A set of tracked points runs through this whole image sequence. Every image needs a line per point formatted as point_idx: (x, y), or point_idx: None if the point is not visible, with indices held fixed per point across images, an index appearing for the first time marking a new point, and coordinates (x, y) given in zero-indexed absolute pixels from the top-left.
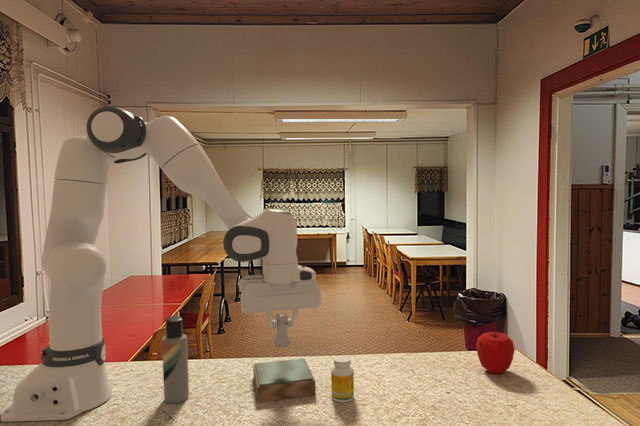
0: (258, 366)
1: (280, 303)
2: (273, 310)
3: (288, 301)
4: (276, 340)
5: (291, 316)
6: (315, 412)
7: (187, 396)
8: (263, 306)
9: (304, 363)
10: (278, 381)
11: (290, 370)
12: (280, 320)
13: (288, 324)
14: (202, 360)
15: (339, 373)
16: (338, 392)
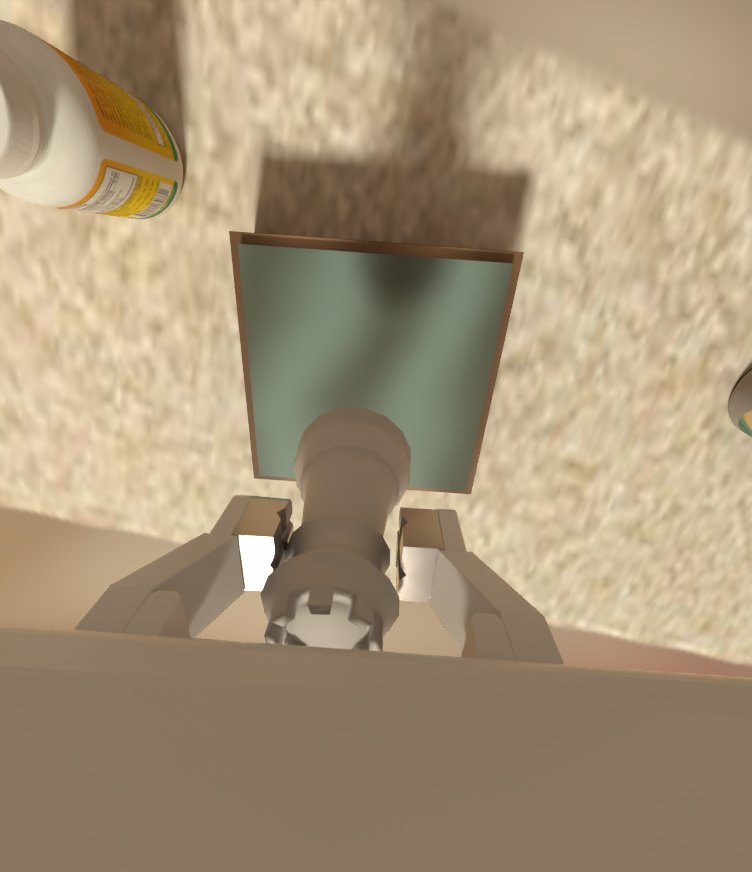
0: (460, 458)
1: (324, 802)
2: (466, 660)
3: (105, 837)
4: (399, 449)
5: (220, 592)
6: (277, 41)
7: (750, 378)
8: (707, 780)
9: (260, 425)
10: (414, 268)
11: (333, 373)
12: (354, 555)
13: (280, 508)
14: (583, 622)
15: (29, 38)
16: (125, 91)
